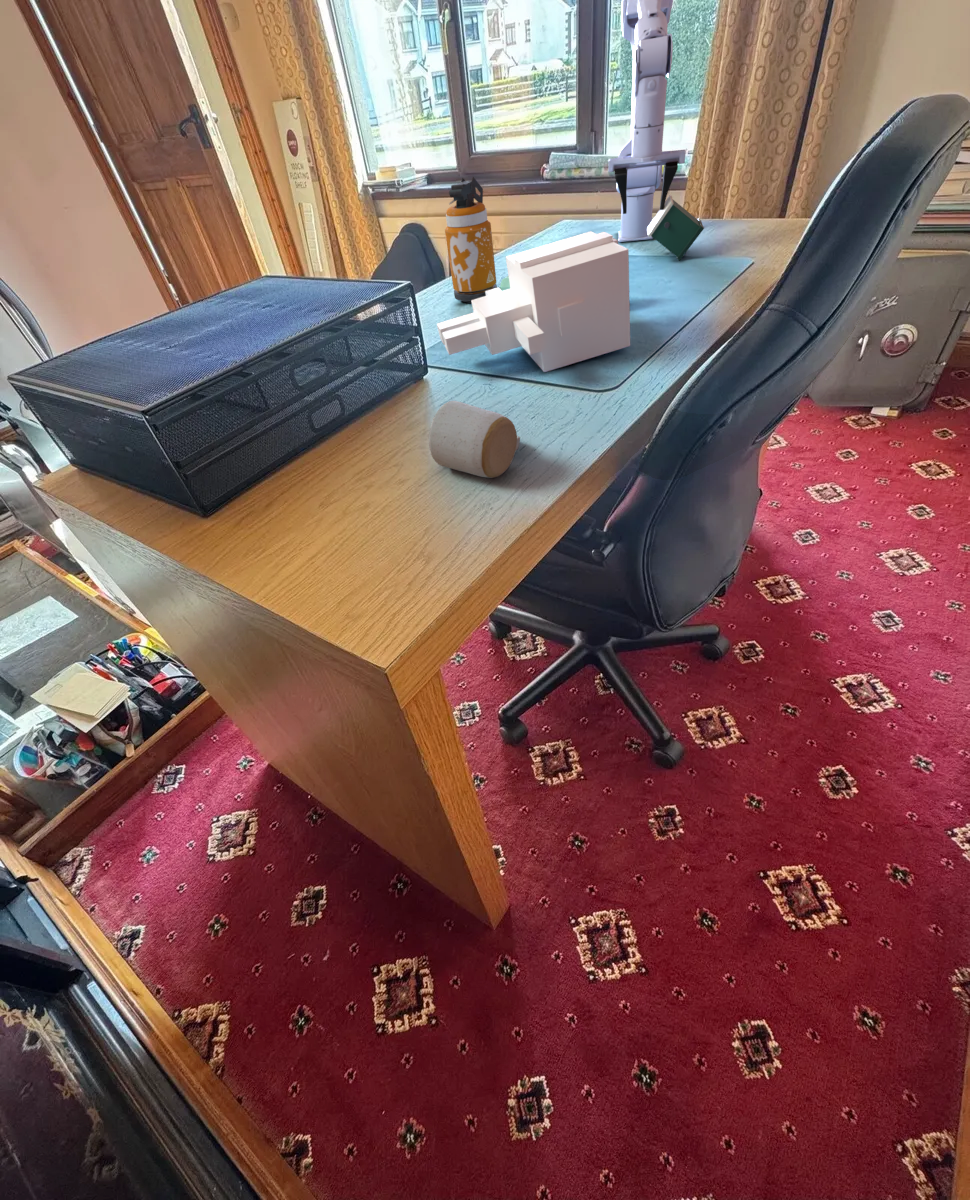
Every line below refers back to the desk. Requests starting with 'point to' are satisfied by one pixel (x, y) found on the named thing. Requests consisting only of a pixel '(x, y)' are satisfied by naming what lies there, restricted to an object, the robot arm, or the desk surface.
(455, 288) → the canister
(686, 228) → the green and cream block
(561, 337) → the blocky voxel creature
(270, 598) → the desk surface
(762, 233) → the desk surface
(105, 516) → the desk surface
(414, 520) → the desk surface
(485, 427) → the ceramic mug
